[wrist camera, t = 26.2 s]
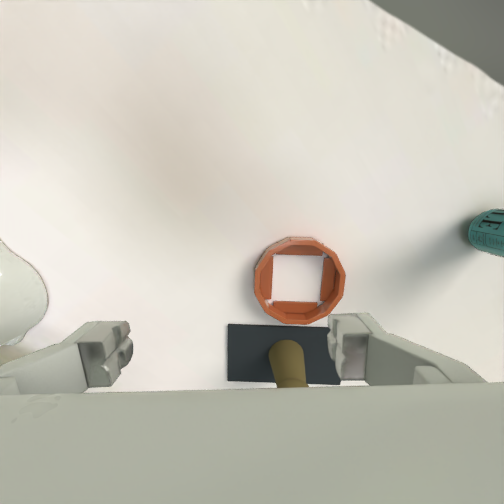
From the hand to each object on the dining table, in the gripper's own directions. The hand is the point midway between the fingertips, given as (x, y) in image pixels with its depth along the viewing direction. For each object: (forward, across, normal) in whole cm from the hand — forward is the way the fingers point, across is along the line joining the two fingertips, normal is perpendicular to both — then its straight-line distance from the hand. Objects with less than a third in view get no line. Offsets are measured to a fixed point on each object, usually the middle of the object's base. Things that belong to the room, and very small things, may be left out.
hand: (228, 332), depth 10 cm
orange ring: (+29, -8, +8) cm, 31 cm away
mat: (+29, -6, +22) cm, 37 cm away
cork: (+29, -6, +22) cm, 37 cm away
